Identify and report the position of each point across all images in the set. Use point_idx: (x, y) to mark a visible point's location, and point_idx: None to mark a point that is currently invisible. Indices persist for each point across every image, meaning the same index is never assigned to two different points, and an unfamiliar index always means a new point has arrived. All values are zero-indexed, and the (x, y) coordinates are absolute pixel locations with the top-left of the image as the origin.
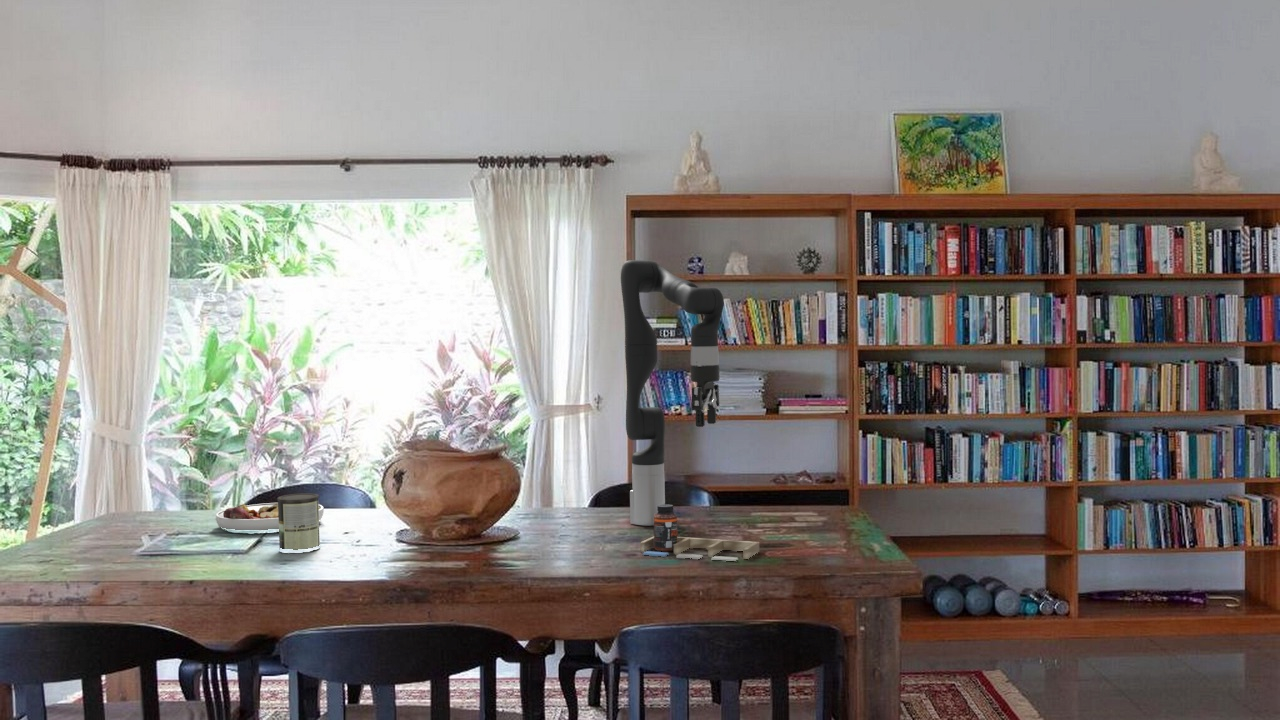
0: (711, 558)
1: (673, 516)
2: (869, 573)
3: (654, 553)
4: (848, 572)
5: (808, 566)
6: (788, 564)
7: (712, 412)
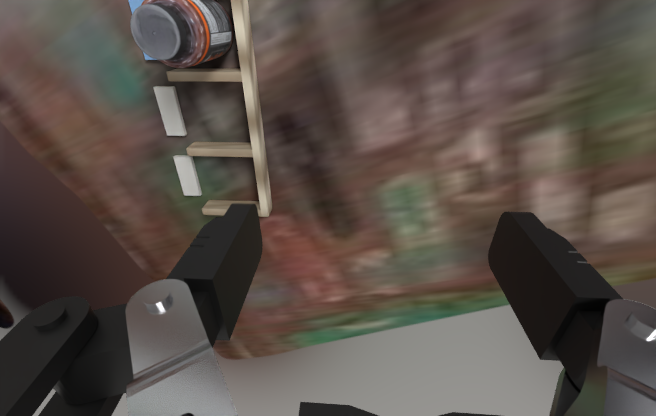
0: (174, 157)
1: (167, 64)
2: None
3: None
4: None
5: None
6: None
7: (535, 317)
